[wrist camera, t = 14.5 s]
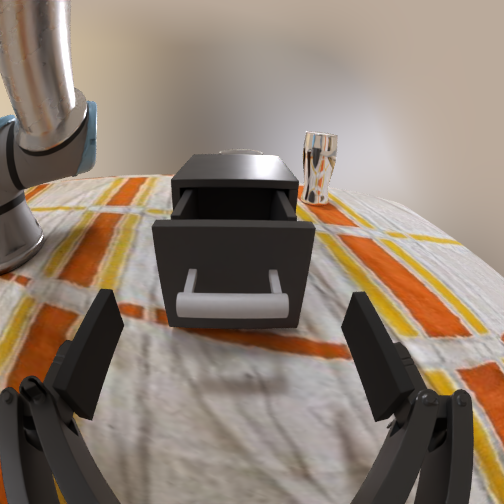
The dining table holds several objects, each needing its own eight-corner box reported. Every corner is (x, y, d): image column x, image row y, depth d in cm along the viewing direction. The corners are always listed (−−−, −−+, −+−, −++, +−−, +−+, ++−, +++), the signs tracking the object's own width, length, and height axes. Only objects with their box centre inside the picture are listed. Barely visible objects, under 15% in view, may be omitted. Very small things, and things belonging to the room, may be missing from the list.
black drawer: (306, 368, 20) (335, 263, 15) (160, 367, 19) (130, 261, 14) (278, 252, 36) (285, 178, 31) (189, 251, 35) (185, 177, 30)
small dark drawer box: (287, 278, 32) (299, 181, 26) (179, 277, 31) (170, 179, 25) (273, 226, 45) (278, 155, 39) (195, 225, 44) (193, 154, 38)
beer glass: (334, 207, 55) (344, 137, 47) (303, 206, 54) (311, 133, 47) (323, 196, 61) (330, 133, 53) (294, 195, 60) (300, 130, 53)
